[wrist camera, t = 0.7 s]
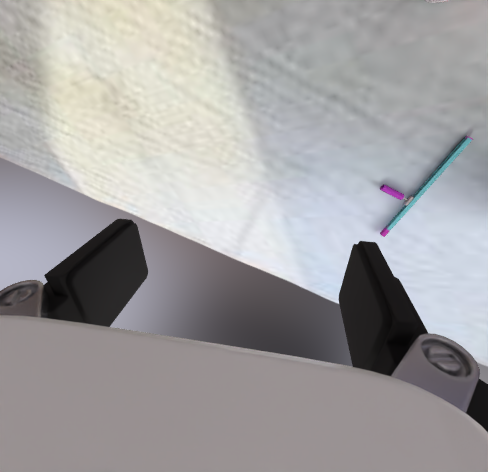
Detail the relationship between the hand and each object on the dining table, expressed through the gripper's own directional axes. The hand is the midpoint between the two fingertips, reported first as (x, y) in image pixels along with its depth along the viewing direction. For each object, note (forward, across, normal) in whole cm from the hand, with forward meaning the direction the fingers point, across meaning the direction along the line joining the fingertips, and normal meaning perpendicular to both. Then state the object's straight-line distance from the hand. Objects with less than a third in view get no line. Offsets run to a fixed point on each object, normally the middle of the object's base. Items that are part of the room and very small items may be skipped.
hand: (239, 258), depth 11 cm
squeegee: (+27, -18, +5) cm, 33 cm away
